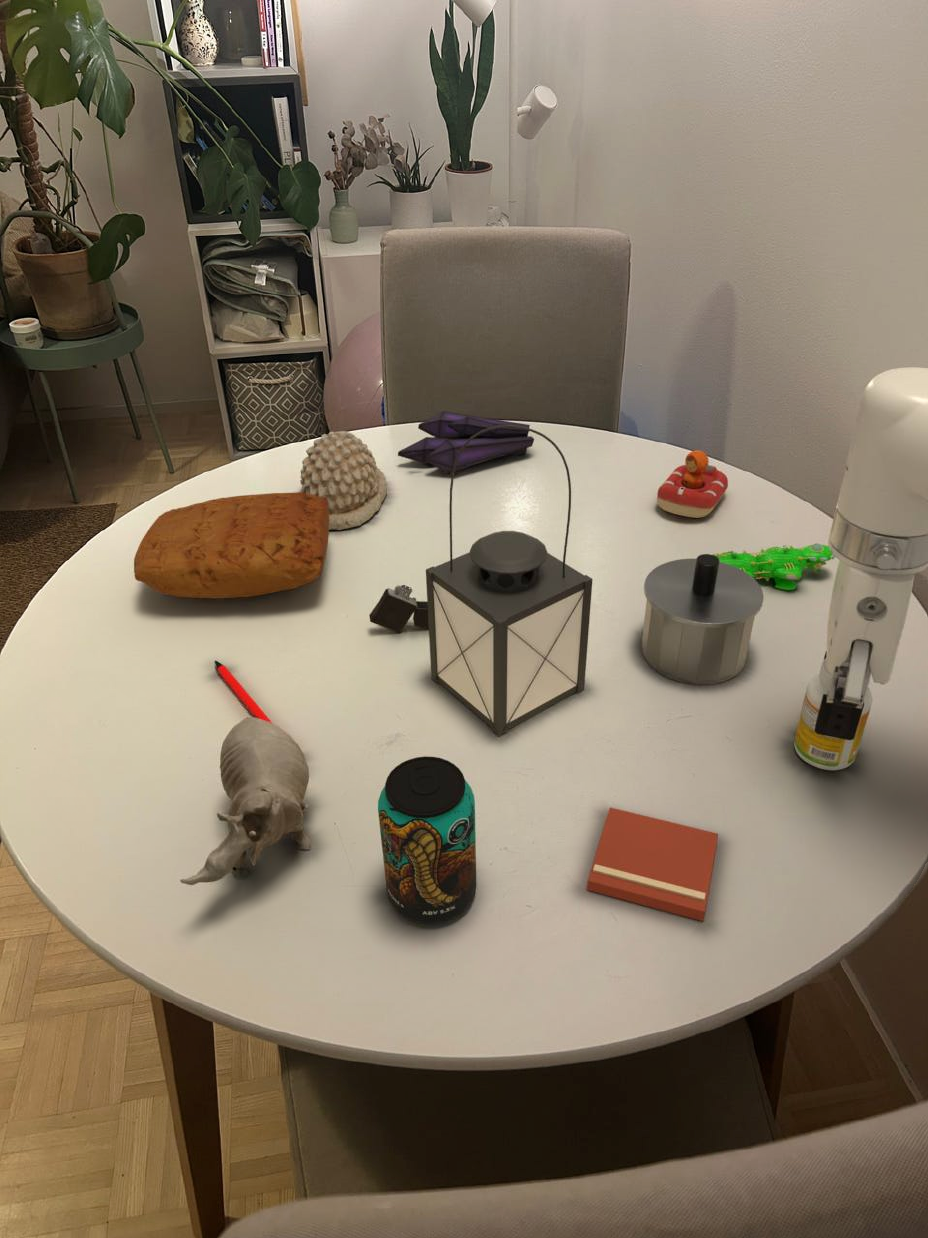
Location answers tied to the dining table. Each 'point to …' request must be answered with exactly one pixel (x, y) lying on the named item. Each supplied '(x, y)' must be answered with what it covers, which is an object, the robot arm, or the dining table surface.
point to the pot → (694, 649)
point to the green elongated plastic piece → (779, 562)
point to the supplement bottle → (821, 747)
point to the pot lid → (703, 592)
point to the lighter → (399, 610)
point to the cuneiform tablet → (236, 546)
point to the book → (654, 863)
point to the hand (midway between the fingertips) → (835, 710)
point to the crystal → (455, 433)
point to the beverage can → (428, 839)
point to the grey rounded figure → (257, 796)
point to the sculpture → (344, 478)
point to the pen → (241, 692)
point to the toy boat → (693, 487)
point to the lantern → (508, 624)
